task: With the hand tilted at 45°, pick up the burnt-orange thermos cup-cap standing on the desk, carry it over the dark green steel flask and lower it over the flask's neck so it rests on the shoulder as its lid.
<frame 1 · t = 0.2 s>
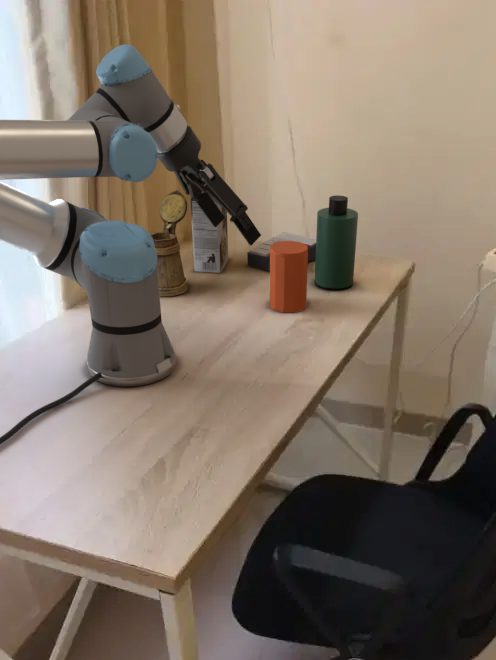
hand: (236, 230, 143), 15 cm above the table, tool tilted 35°, fingers open, 13 cm apart
wooden mug: (171, 285, 162), on the table
cap: (287, 305, 153), on the table
coffee box: (211, 266, 171), on the table
red and grey box: (284, 262, 174), on the table
flask: (333, 283, 163), on the table
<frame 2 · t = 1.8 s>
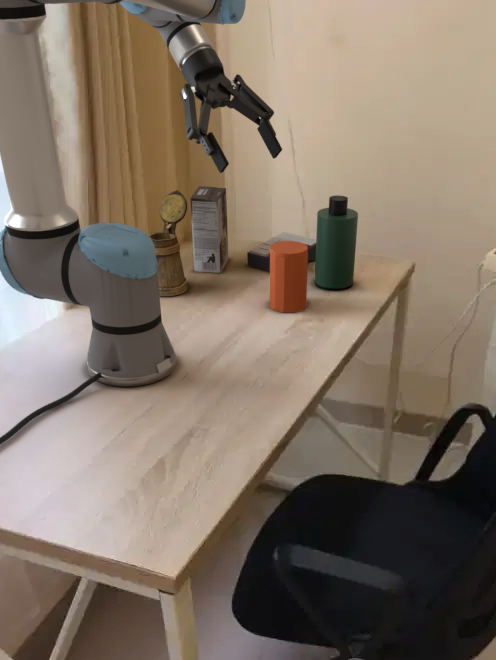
hand: (251, 161, 142), 26 cm above the table, tool tilted 45°, fingers open, 13 cm apart
nothing on the table moved.
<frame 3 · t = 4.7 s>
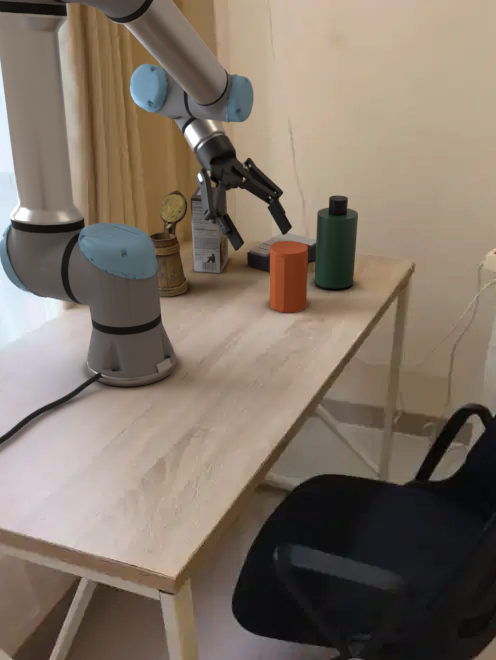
hand: (264, 239, 150), 12 cm above the table, tool tilted 45°, fingers open, 13 cm apart
nothing on the table moved.
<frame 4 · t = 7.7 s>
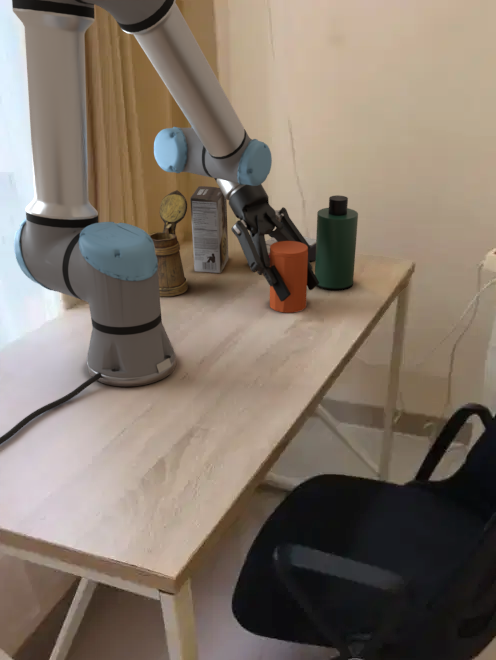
hand: (300, 292, 149), 4 cm above the table, tool tilted 45°, fingers closed on cap, 8 cm apart
cap: (287, 305, 153), on the table, touching gripper
everything else where it was.
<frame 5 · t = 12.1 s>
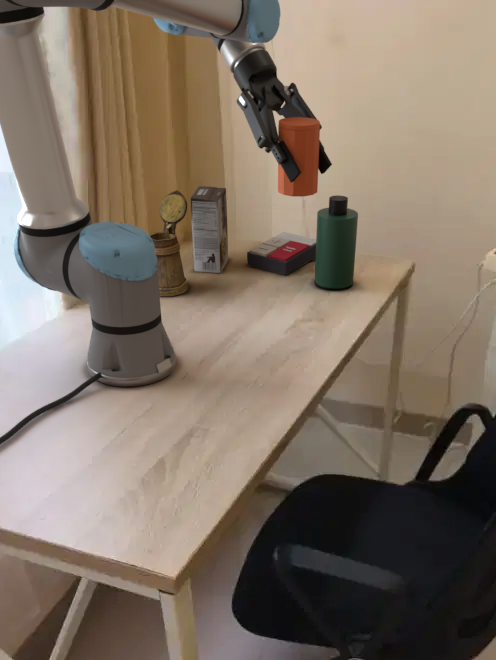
hand: (311, 173, 137), 26 cm above the table, tool tilted 45°, fingers closed on cap, 8 cm apart
cap: (297, 190, 141), point 22 cm above the table, touching gripper
everything else where it was.
when the fingers open (19 cm above the table, at t = 16.6 s): cap stays where it is, resting on flask.
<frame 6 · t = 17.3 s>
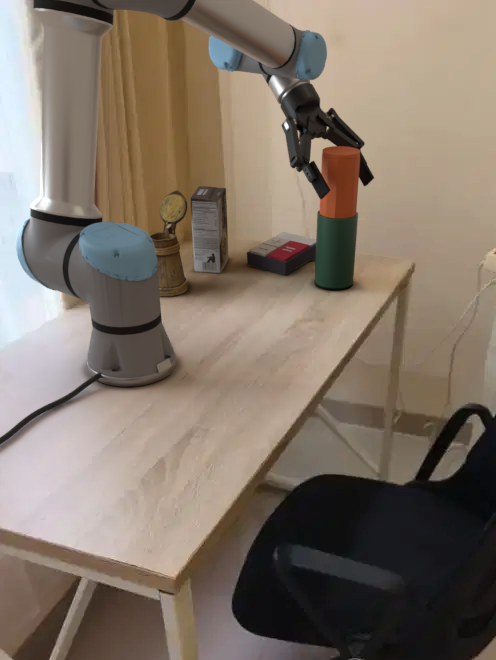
hand: (348, 188, 150), 20 cm above the table, tool tilted 45°, fingers open, 13 cm apart
cap: (337, 213, 154), point 15 cm above the table, touching flask
everything else where it was.
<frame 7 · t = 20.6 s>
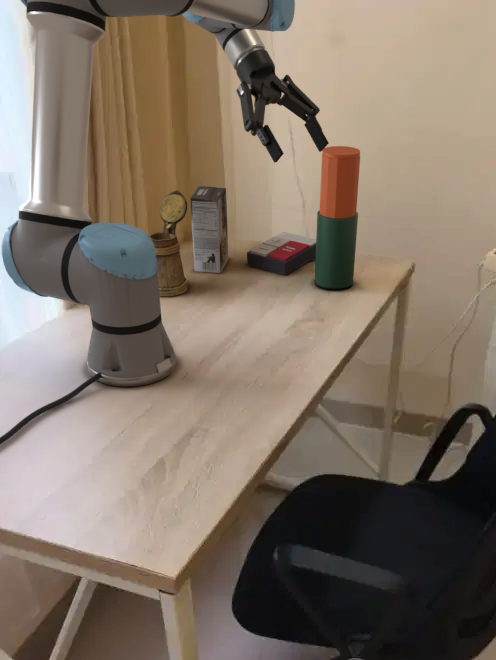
hand: (302, 152, 154), 25 cm above the table, tool tilted 45°, fingers open, 13 cm apart
nothing on the table moved.
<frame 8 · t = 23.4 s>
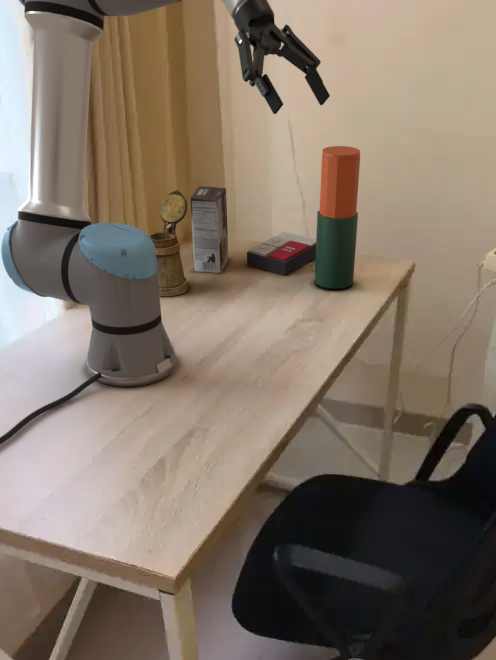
hand: (302, 105, 148), 34 cm above the table, tool tilted 45°, fingers open, 13 cm apart
nothing on the table moved.
at the end: cap 0.0 cm off-centre on the flask, point 15.0 cm above the flask's base; cap tilted 0°; the gripper is holding nothing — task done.
